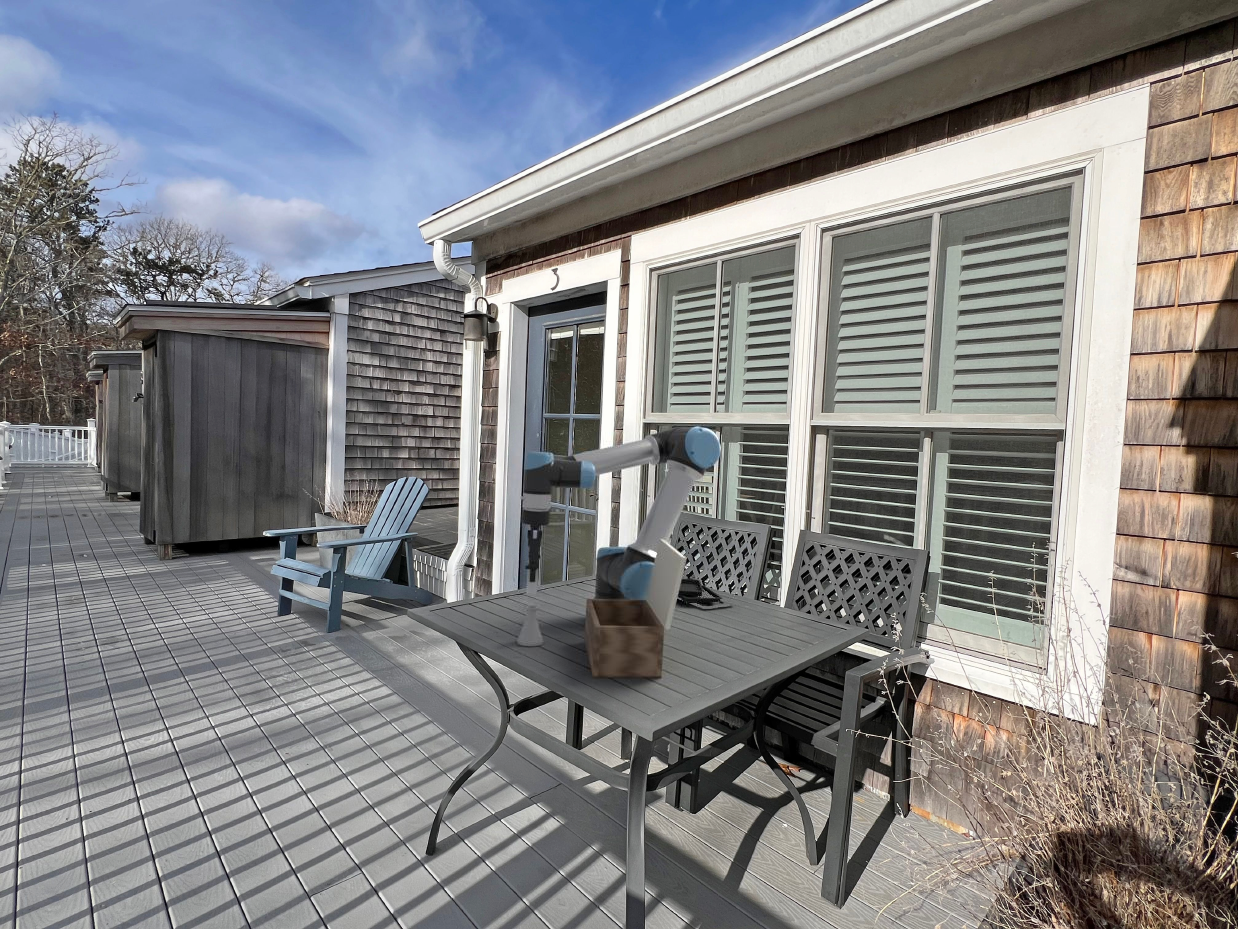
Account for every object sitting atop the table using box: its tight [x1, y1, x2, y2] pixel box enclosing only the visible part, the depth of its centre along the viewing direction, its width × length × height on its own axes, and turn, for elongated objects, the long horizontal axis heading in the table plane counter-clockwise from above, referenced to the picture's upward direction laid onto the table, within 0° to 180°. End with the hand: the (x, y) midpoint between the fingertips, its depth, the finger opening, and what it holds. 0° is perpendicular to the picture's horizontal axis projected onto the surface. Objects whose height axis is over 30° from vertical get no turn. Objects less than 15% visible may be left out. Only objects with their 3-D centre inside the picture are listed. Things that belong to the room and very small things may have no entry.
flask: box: [516, 604, 545, 647], centre depth 176 cm, size 7×7×10 cm
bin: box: [584, 598, 665, 679], centre depth 167 cm, size 16×26×12 cm, turn 7°
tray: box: [678, 578, 723, 606], centre depth 233 cm, size 30×23×5 cm
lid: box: [645, 539, 687, 631], centre depth 167 cm, size 17×28×1 cm
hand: (531, 588), depth 175 cm, fingers open, 13 cm apart
